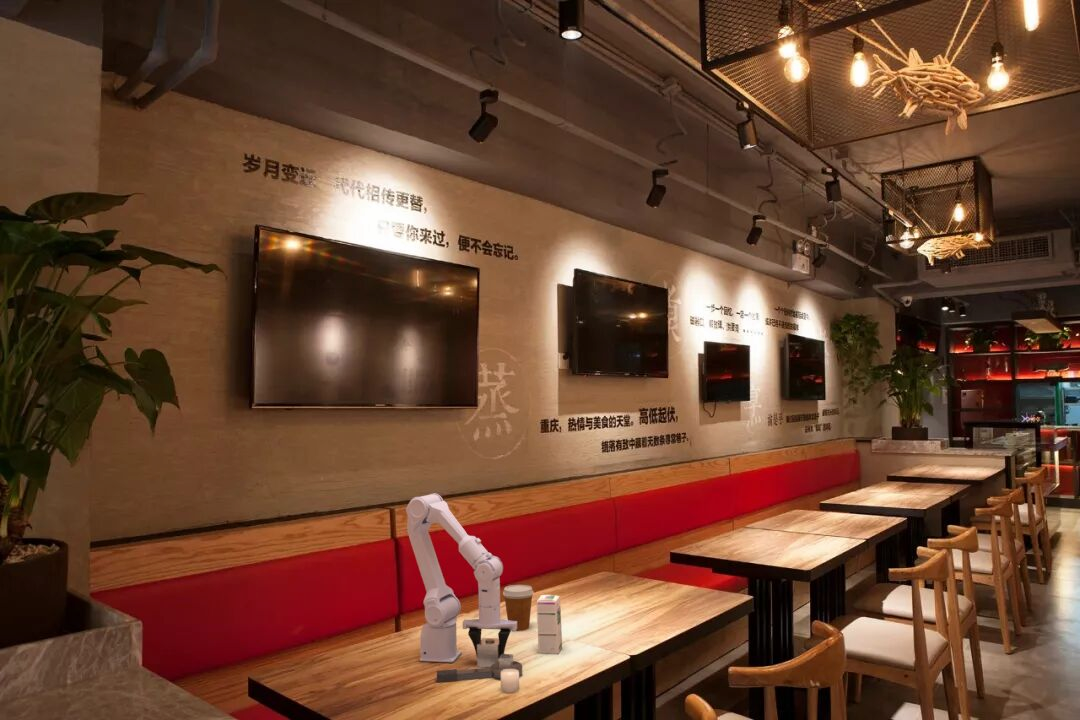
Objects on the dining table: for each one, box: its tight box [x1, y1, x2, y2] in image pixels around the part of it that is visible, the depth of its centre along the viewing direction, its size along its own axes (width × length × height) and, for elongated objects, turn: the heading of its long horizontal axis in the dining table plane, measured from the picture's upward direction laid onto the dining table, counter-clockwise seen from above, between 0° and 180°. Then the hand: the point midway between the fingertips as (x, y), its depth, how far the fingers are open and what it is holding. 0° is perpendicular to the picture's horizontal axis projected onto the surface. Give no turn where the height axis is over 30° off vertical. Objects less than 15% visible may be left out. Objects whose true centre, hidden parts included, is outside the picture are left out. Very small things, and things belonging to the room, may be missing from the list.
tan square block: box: [476, 637, 499, 668], centre depth 185 cm, size 6×6×6 cm
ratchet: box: [436, 653, 523, 683], centre depth 177 cm, size 21×11×4 cm, turn 80°
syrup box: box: [536, 594, 563, 655], centre depth 195 cm, size 6×6×14 cm
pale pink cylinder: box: [500, 669, 520, 694], centre depth 168 cm, size 4×4×4 cm
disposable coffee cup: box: [502, 584, 534, 632], centre depth 216 cm, size 10×10×12 cm
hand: (490, 657), depth 185 cm, fingers closed on tan square block, 6 cm apart
